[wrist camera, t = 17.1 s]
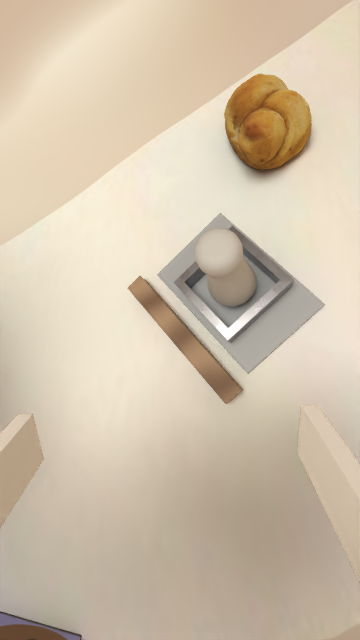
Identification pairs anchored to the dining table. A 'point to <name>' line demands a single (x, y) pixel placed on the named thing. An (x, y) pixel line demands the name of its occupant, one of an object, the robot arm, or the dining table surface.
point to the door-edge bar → (185, 341)
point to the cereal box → (30, 630)
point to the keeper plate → (254, 315)
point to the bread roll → (267, 122)
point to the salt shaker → (225, 267)
